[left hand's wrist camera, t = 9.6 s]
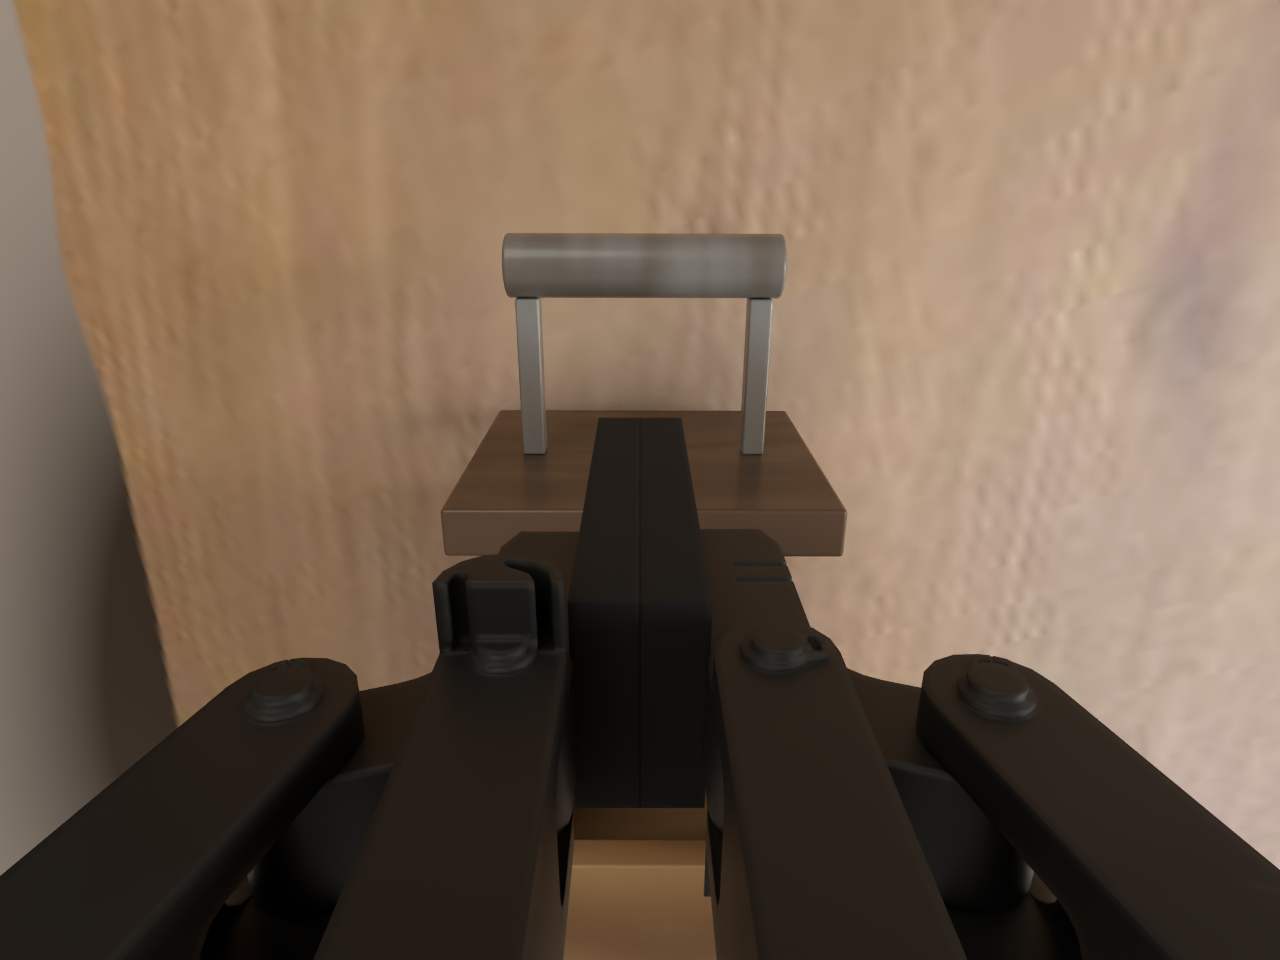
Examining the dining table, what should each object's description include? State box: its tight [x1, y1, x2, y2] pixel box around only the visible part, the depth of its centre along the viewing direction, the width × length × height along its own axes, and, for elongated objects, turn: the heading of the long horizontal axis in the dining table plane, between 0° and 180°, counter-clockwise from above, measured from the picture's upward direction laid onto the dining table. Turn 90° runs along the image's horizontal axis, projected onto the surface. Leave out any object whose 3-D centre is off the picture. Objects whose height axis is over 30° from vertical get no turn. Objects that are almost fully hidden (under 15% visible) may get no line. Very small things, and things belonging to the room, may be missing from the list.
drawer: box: [441, 233, 847, 840], centre depth 23 cm, size 21×9×8 cm, turn 0°
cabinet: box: [563, 839, 717, 960], centre depth 28 cm, size 16×11×10 cm, turn 0°
